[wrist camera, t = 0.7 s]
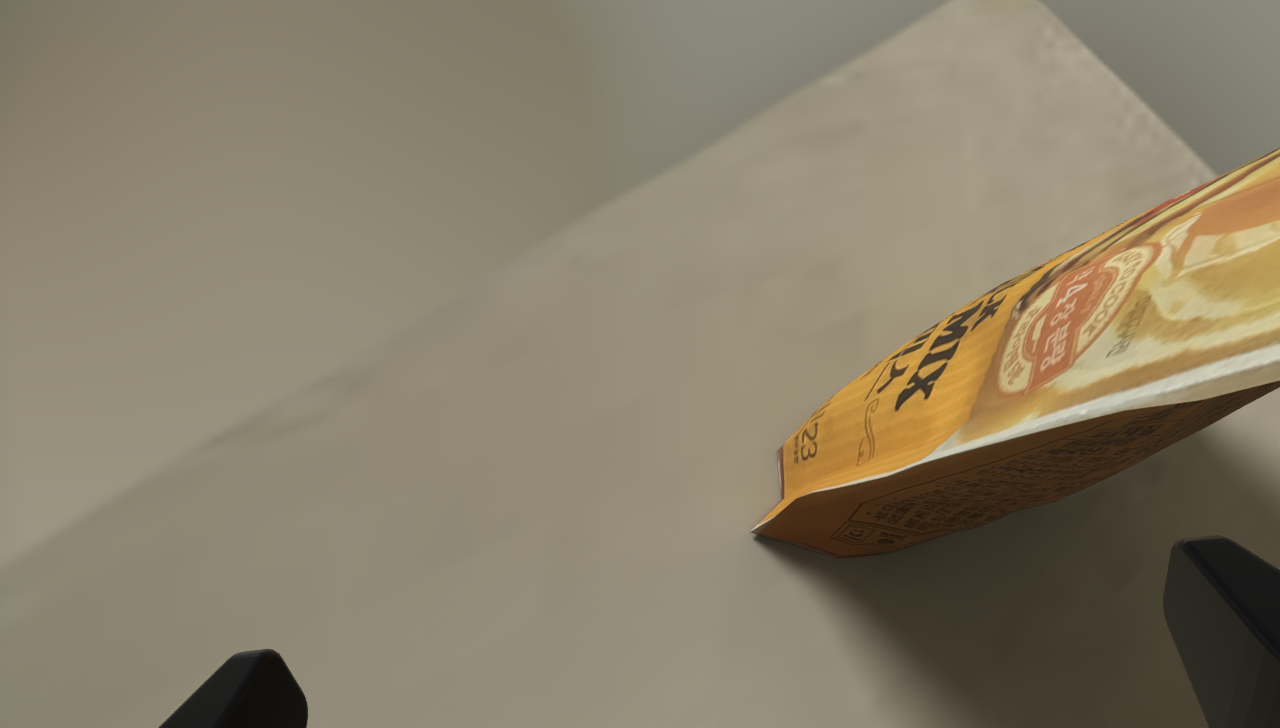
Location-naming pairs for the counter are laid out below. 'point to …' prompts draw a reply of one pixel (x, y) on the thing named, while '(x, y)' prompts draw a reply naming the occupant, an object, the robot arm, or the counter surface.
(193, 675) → the counter surface
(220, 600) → the counter surface
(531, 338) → the counter surface
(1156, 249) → the pancake mix bag
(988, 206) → the counter surface
